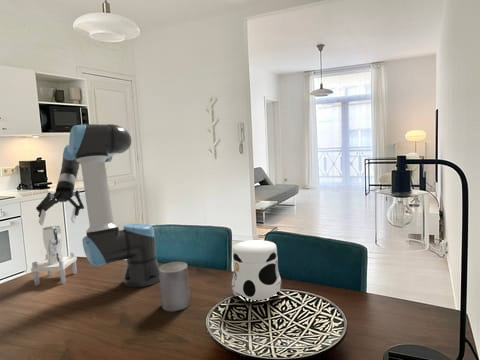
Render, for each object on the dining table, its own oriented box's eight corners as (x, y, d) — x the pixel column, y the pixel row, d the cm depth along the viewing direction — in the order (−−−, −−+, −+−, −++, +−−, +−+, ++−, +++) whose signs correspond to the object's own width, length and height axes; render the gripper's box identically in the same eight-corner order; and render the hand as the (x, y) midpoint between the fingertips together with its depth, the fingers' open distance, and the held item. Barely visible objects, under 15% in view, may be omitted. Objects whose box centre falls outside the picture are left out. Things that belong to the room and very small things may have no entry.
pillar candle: (173, 297, 127) (169, 256, 125) (196, 300, 122) (192, 259, 121) (155, 309, 118) (151, 266, 116) (179, 314, 114) (175, 269, 112)
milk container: (224, 293, 128) (221, 244, 126) (265, 282, 135) (263, 236, 134) (246, 312, 112) (244, 257, 110) (291, 299, 120) (289, 247, 118)
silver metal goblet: (45, 265, 146) (41, 230, 144) (46, 261, 152) (43, 227, 151) (63, 262, 149) (59, 228, 147) (64, 258, 155) (61, 224, 153)
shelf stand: (78, 272, 158) (76, 251, 157) (65, 283, 145) (62, 261, 144) (48, 274, 158) (46, 253, 157) (33, 285, 145) (30, 263, 144)
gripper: (95, 188, 173) (88, 224, 160) (41, 191, 171) (30, 229, 157) (90, 178, 168) (83, 215, 154) (35, 181, 165) (23, 220, 152)
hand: (56, 222), depth 156 cm, fingers open, 13 cm apart
